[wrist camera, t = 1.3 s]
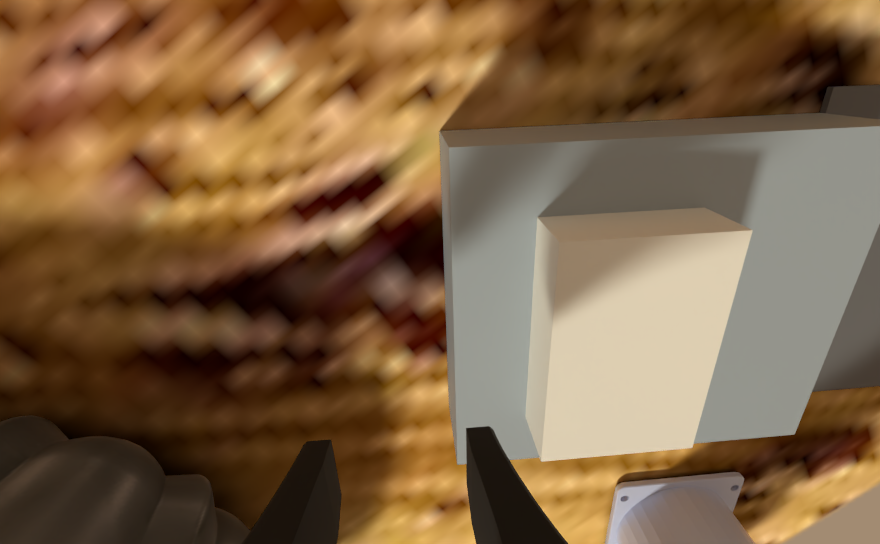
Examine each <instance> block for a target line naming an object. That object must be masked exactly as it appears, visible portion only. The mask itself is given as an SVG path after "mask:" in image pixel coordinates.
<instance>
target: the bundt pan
mask: <svg viewBox="0 0 880 544" xmlns="http://www.w3.org/2000/svg"><path fill="white" fill-rule="evenodd" d="M249 532H250V530H249V529H248V528H247V527H246V526H245V525H244V523H243V522H242V521H241V520H240V519H238V518H237V517H236V516H234V515H233V514H231V513H229V512H227V511H225V510H222V509H219V508H215V505H214V498H213V492H212V487H211V483H210V482H209V480H208V479H207V478H206V477H204V476H202V475H199V474H190V475H170V476H165V474H164V471H163V469H162V468H161V466H160V465H159V463H158V462H157V460H156V459H155V458H154V457H153V456H152V455H151V454H150V453H149V452H148V451H146V450H145V449H144V448H142V447H141V446H139V445H137V444H135V443H132V442H130V441H128V440H124V439H120V438H116V437H108V436H92V437H81V438H76V439H70V440H69V439H68V438H67V437H66V436H65V435H64V433H63V432H62V431H61V430H60V429H59V428H58V427H57V426H56V425H55V424H54V423H52V422H51V421H50V420H48V419H45V418H42V417H38V416H20V417H14V418H10V419H7V420H4V421H1V422H0V544H242V542H243V541H244V540H245V538H246V537H247V535H248V534H249Z"/></svg>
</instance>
